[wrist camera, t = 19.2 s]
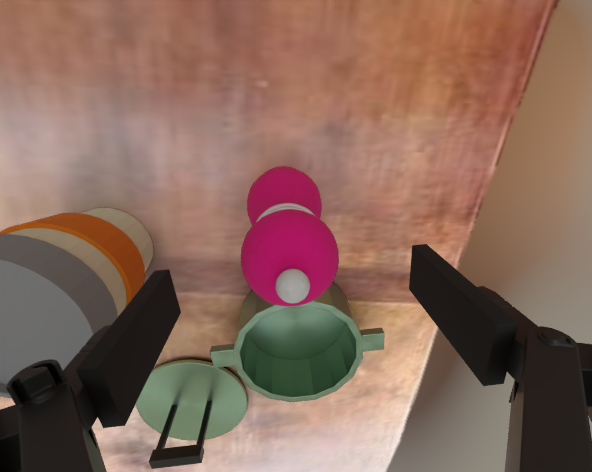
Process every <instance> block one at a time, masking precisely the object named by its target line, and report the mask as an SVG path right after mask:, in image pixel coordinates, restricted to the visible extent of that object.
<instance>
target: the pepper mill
mask: <svg viewBox="0 0 592 472" xmlns="http://www.w3.org/2000/svg"><path fill="white" fill-rule="evenodd" d="M247 210H248V216H249V218H250V221H251V223H252V225H253V226H252V227H251V229H250V230H249V231H248V233H247V235H246V237H245V239H244V242H243V245H242V249H241V266H242V271H243V274H244V276H245V278H246V281H247V283H248V284H249V286H250V287H251V289H252V290H253V291H254V292H255V293H256V294H257V295H258V296H260V297H261V298H262V299H264V300H266V301H267V302H269V303H272V304H275V305H279V306H287V307H290V306H299V305H303V304H307V303H309V302H311V301H313V300H315V299H316V298H318V297H320V296H321V295H322V294H323V293H324V292H325V291H326V290H327V289H328V288H329V286H330V285H331V284H332V282H333V280H334V277H335V275H336V272H337V268H338V263H339V259H338V248H337V244H336V241H335V239H334V236H333V234H332V233H331V231H330V229H329V228H328V227H327V226H326V224H325V223H324V222H322V221H321V220H320V219H319V218H320V215H321V198H320V194H319V191H318V189H317V187H316V185H315V183H314V182H313V181H312V180H311V179H310V178H309V177H308V176H307V175H305V174H304V173H302V172H300V171H298V170H296V169H294V168H291V167H276V168H273V169H271V170H269V171H267V172H266V173H265V174H263V175H262V176H260V177H259V178H258V179H257V180H256V181H255V183H254V184H253V186H252V187H251V189H250V192H249V195H248V200H247Z"/></svg>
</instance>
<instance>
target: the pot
mask: <svg viewBox="0 0 592 472" xmlns="http://www.w3.org/2000/svg"><path fill="white" fill-rule="evenodd" d="M381 349H384V331H383V329H382V328H375V329H365V330H360V329H359V327H358V324H357V322H356V319H355V317H354V314H353V312H352V309H351V306H350V304H349V303H348V301H347V299H346V296H345V295H344V293H343V291H342V290H341V289H340V288H339V287H338V286H337V285H336V284H335V283H334V282H332V284H331V285H330V286H329V288H328V289H327V290H326V291H325V292H324V293H323V294H322V295H321V296H320V297H318V298H316V299H315V300H313V301H311V302H309V303H307V304H303V305H299V306H290V307H287V306H279V305H275V304H272V303H269V302H267V301H266V300H264V299H262V298H261V297H260V296H258V295H257V294H256V293H255V292H254V291H253V290H251V292H250V293H249V294H248V295H247V297H246V299H245V300H244V303H243V305H242V309H241V313H240V316H239V320H238V325H237V331H236V336H235V342H234V344H228V345H219V346H212V347H211V351H210V354H211V358H212V362H213V366H214V368H218V367H227V366H236V371H237V373H238V374H239V375H240V377H241V378H242V379H243V380H244V381H245V383H246V384H247V385H248V386H249V388H251V389H253V390H255V391H257V392H258V393H260V394H262V395H264V396H266V397H268V398H270V399H276V400H282V401H287V402H299V401H307V400H315V399H318V398H320V397H323V396H325V395H327V394H330V393H332V392H335V391H337V390H338V389H339V388H340V387H341V386H343V385H344V384H345V383H346V382H347V381H348V380H350V379H351V378H352V377H353V376H354V374H355V372H356V370H357V368H358V366H359V364H360V362H361V360H362V358H363V351H372V350H381Z"/></svg>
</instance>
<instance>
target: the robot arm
mask: <svg viewBox="0 0 592 472" xmlns="http://www.w3.org/2000/svg"><path fill="white" fill-rule="evenodd" d="M409 289H410V291H411V292H412V293H413V295H414V296H415V297H416V299H417V300H418V301H419V303H420V304H421V305H422V306H423V308H424V309H425V310H426V312H427V313H428V314H429V316H430V317H431V318H432V320H433V321H434V322H435V323H436V325H437V326H438V327H439V329H440V330H441V331H442V333H443V334H444V335H445V337H446V338H447V339H448V340H449V342H450V343H451V344H452V346H453V347H454V348H455V350H456V351H457V352H458V353H459V355H460V356H461V357H462V359H463V360H464V361H465V363H466V364H467V365H468V366H469V368H470V369H471V370H472V372H473V373H474V374H475V376H476V377H477V378H478V380H479V381H480V382H481V384H482V385H483V386H487V385H496V384H503V383H504V380H505V376H506V372H508V373H509V374H510V375H511V376H512V377H513V378H514V379H515V381H514V385H513V389H512V392H511V396H510V400H509V402H510V403H511V413H510V423H509V433H508V443H507V454H506V464H505V472H592V439H591V432H590V425H589V418H590V420H591V421H592V344H584V343H576V342H575V341H574V340H573V339H572V338H571V337H570V336H568V335H566V334H564V333H563V332H560V331H558V330H555V329H552V328H548V327H538V326H537V325H536V324H534V323H533V322H532V321H531V320H529V319H528V318H527V317H526V316H524V315H523V314H522V313H521V312H519V311H518V310H517V309H516V308H514V307H512V305H510V304H509V303H508V302H507V301H505V300H504V299H503V298H502V297H500V295H498V294H497V293H496V292H494V291H492V290H490V289H488V288H486V287H483V286H480V287H476V286H475V285H473V284H472V283H471V282H470V281H469V280H467V279H466V278H465V277H464V276H463V275H462V274H461V273H459V272H458V271H457V270H456V269H455V268H454V267H452V266H451V265H450V264H449V263H448V262H447V261H445V260H444V259H443V258H442V257H441V256H440V255H438V254H437V253H436V252H435V251H434V250H433V249H431V248H430V247H429V246H428V245H427V244H423V245H413V246H412V258H411V271H410V285H409ZM180 313H181V311H180V307H179V304H178V300H177V297H176V293H175V289H174V286H173V282H172V278H171V275H170V271H169V270H159V271H154V272H153V273H152V275H151V276H150V277H149V279H148V280H147V281H146V282H145V284H144V285H143V286H142V287H141V289H140V290H139V291H138V292H137V294H136V295H135V296H134V297H133V299H132V300H131V301H130V302H129V304H128V305H127V306H126V307H125V309H124V310H123V311H122V312H121V314H120V315H119V316H118V317H117V319H116V320H115V321H114V322H113V324H112V325H107V326H104V327H103V328H101V329H100V330H99V331H97V332H96V333H94V334H93V335H92V337H91V338H90V339H89V340H88V341H87V342H86V345H84V346H83V347H82V348H81V350H80V351H79V353H77V354H76V355H75V357H74V358H73V359H72V360H71V361H70V363H69V364H68V365H67V366H66V367H65V368H64V370H62V368H61V366H60V364H59V362H58V361H57V360H53V359H48V360H42V361H39V362H37V363H34V364H32V365H30V366H28V367H26V368H24V369H22V370H21V371H20V372H18V373H17V374H16V375H14V376H13V377H12V379H11V380H10V381H9V382H8V384H7V387H6V389H7V391H8V393H9V394H10V396H11V397H12V399H13V401H14V402H15V404H16V405H13V406H10V407H7V408H4V409H1V410H0V472H106V469H105V465H104V462H103V459H102V456H101V453H100V450H99V446H98V443H97V440H96V437H95V434H94V432H93V430H92V428H91V427H92V425H93V424H94V422H95V420H96V419H97V417H98V418H99V420H100V422H101V424H102V426H103V428H107V427H116V426H125V424H126V422H127V420H128V418H129V416H130V414H131V412H132V410H133V408H134V406H135V404H136V402H137V400H138V398H139V396H140V394H141V392H142V390H143V388H144V386H145V384H146V382H147V380H148V378H149V376H150V374H151V372H152V370H153V368H154V366H155V364H156V362H157V360H158V357H159V355H160V353H161V351H162V349H163V347H164V345H165V343H166V341H167V339H168V337H169V335H170V333H171V331H172V329H173V327H174V325H175V323H176V321H177V319H178V317H179V315H180ZM588 416H589V418H588Z"/></svg>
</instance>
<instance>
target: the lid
mask: <svg viewBox="0 0 592 472" xmlns="http://www.w3.org/2000/svg"><path fill="white" fill-rule="evenodd" d="M136 407H137V410H138V412H139V414H140V416H141V417H142V419H143V420H144V421H145V422H146V423H147V424H148V425H149V426H150V427H152V428H153V429H155V430H156V431H158V432H160V433H162V434H161V437H160V439H159V442H158V445H157V448H156V450H153V452H152V455H151V457H150V460H149V463H150V465H151V468H152V469H155V468H163V467H171V466H180V465H188V464H196V463H202V459H203V454H204V449H203V445H204V440H205V439H211V438H215V437H218V436H221V435H223V434H225V433H227V432H229V431H230V430H232V429H233V428H234V427H236V426H237V425H238V424H239V423H240V421H241V420H242V418H243V417H244V415H245V412H246V409H247V394H246V390H245V388H244V386H243V384H242V383H241V381H240V380H239V379H238V378H237V377H236V376H235V375H234V374H233V373H231V372H230V371H228V370H227V369H225V368H223V367H218V368H214V366H213V363H211V362H206V361H201V360H178V361H173V362H169V363H166V364H163V365H161V366H159V367H157V368H155V369H153V370H152V372H151V374H150V376H149V378H148V380H147V382H146V384H145V386H144V388H143V390H142V392H141V394H140V396H139V398H138V400H137V402H136ZM168 436H169V437H173V438H177V439H182V440H197V444H196V445H190V446H181V447H173V448H164V447H165V444H166V441H167V438H168Z"/></svg>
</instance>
